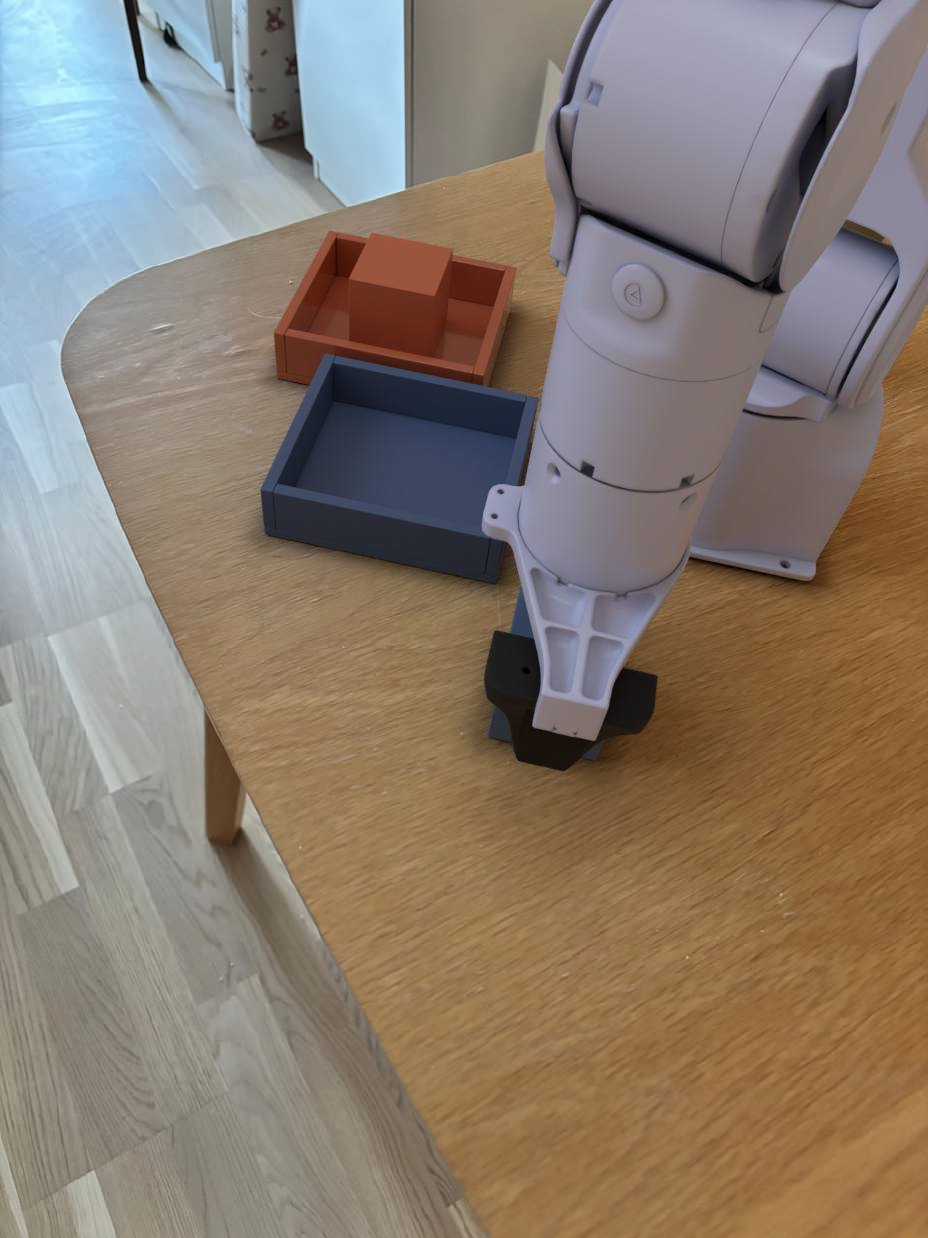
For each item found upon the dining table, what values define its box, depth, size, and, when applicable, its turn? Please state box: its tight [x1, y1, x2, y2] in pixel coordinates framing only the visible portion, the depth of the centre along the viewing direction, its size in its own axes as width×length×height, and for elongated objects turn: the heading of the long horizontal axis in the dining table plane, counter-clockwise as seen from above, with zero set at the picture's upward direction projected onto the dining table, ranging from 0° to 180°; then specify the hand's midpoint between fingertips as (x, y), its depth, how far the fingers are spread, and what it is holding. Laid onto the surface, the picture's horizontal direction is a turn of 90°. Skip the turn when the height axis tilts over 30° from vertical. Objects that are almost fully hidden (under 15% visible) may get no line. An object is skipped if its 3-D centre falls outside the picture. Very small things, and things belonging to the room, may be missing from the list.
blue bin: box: [259, 354, 540, 585], centre depth 48 cm, size 11×10×3 cm
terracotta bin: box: [273, 230, 518, 387], centre depth 55 cm, size 11×10×3 cm
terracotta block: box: [349, 232, 454, 358], centre depth 54 cm, size 5×5×5 cm
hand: (556, 679), depth 40 cm, fingers open, 7 cm apart
